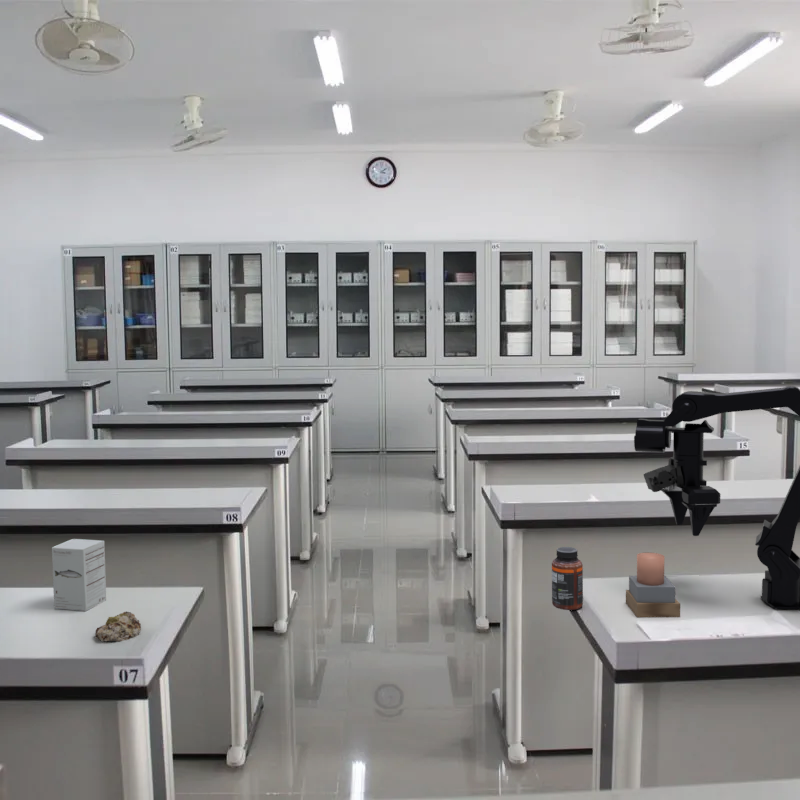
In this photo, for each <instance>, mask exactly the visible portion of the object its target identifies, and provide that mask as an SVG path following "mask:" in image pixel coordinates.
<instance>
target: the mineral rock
mask: <svg viewBox="0 0 800 800" xmlns="http://www.w3.org/2000/svg"><path fill="white" fill-rule="evenodd" d="M141 630H142V627H141V622H140V620H139V619H138V618H137V617H136V616H135V613H133V612H131V611H130V612H129V611H124V612H122V613H119V614H117V615H115V616H108V618H107V620H106V622H105V624H104V625H100V626H99V627H97V628H96V629H95V638H96V640H100V641H101V642H118V643H119V642H124V641H127V640H130V639H132V638H135V637H138V636H139V634H140V633H141Z"/></svg>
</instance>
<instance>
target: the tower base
mask: <svg viewBox="0 0 800 800" xmlns="http://www.w3.org/2000/svg"><path fill="white" fill-rule="evenodd" d="M625 604H626V605H627V607H628V608H629V610H630V611H631V612H632V613H633V614H634V615H635V617H636V618H681V602H680V601H678V600H677V599H676V598H675V603H637V602H636V600H635V599H634V597H633V596H632V594H631V593H630V591H629V589H626V590H625Z"/></svg>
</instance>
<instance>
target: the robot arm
mask: <svg viewBox="0 0 800 800" xmlns="http://www.w3.org/2000/svg"><path fill="white" fill-rule="evenodd" d="M671 407H672V408H671V409H672V411H670V413H669V414H668V415H666V416H665V417H664V419H663V420H662V419H661V420H660V419H647V418H638V419H637V420H636V426H635V435H634V437H633V447H634V452H637V453H638V452H639V453H640V452H641V453H659V454H660V453H663V454H664V453H665V452H666V449H670V448H671V447H672V446H671V445H673V447H672V448H673V449H672V450H673V451H672V454H673V455H672V457H669V459H668V465H664V466H661V467H658V468H655V469H652V470H650V471H647V472H645V473H643V478H644V481H645V483H646V486H647V489H648V490H651V492H653V493H657V492H662V493H663V494H665V495H666V497H667V498H668V499H669V501H670V504H671V508H672V512H673V516H674V520H675V525H676V526H678V525H679V526H682V525H684V524H683V523H684V521H685V518H686V515H687V512H688V513H689V520H690V527H691V528H690V529H691V534H692V536H693V537H698V536H699V535H700V534H701V532H702V530H703V528H704V526H705V525H706V523H707V521H708V519H709V517H710V515H711V514H712V513H713V511H714V509H715V508H716V507H717V506H718V505H720V504H721V493H720V492H719V490H717V489H716V488H713V487H712V486H710V485H707V484H708V483H707V480H705V479H704V466H707V465H708V463H707V462H708V460H707V459H704V438H705V437H704V436H705V435H704V434H712V433H713V432H714V430H715V428H714V427H712V425H711V424H709V423H708V420H707V418H709V417H713V416H716V415H720V414H724V413H733V412H734V413H735V412H746V411H759V410H768V409H779V408H788V409H789V410H790V411H792V412H794V413H795V414H796V415H797V416H798V417H800V387H798V386H795V385H786V386H783V387H777V388H776V387H775V388H766V389H765V388H764V389H755V390H744V391H736V392H725V393H724V392H722V393H720V392H709V391H697V390H696V391H694V390H688V391H684V392H682V393H681V394H679V395H678V396H676V398H674V399H673V403H672V406H671ZM701 419H704V420H703V421H702V422H701V423H692V422H694V421H699V420H701ZM681 422H684V423H685V422H686V423H685V424H684V427H675V426H676V425H678V424H680V423H681ZM690 422H691V423H690ZM672 433H673V441H672ZM672 442H673V444H672ZM778 511H779V512H778V514H777V515H776V517H774V519H773V520H772V522H770V521H768V520H767V519H764V520H763V525H762V529H761V530H760V532H759V534H757V535H756V539H755V546H757V550H756V555H757V558H758V560H759V561H760V563H761V564H762V565H764V566H765V567H767V570H764V577H763V578H762V580H761V582H762V583H761V595H760V600H762V601H763V603H764V602H765V604H767V605H768V606H770V607H771V608H772V609H775V610H800V556H799V555H798V554H797V553H796V552H795V551H794V550H793V545H794V541H795V535H796V531H797V526H798V524H799V522H800V465H799V466H798V469H797V470H796V472H795V475H794V478H793V480H792V483H791V485H790V486H789V489H788V492H787V494H786V496H785V498H784V500H783V503H782V504H781V507H780V510H778Z"/></svg>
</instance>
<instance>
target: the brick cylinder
mask: <svg viewBox="0 0 800 800" xmlns="http://www.w3.org/2000/svg"><path fill="white" fill-rule="evenodd" d="M665 558H666V557H665V555H663V554H661V553H657V552H640V553H637V554H636V576H637V582H638V583H641V584H644V585H651V586H657V585H662V584H664V576H665Z"/></svg>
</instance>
